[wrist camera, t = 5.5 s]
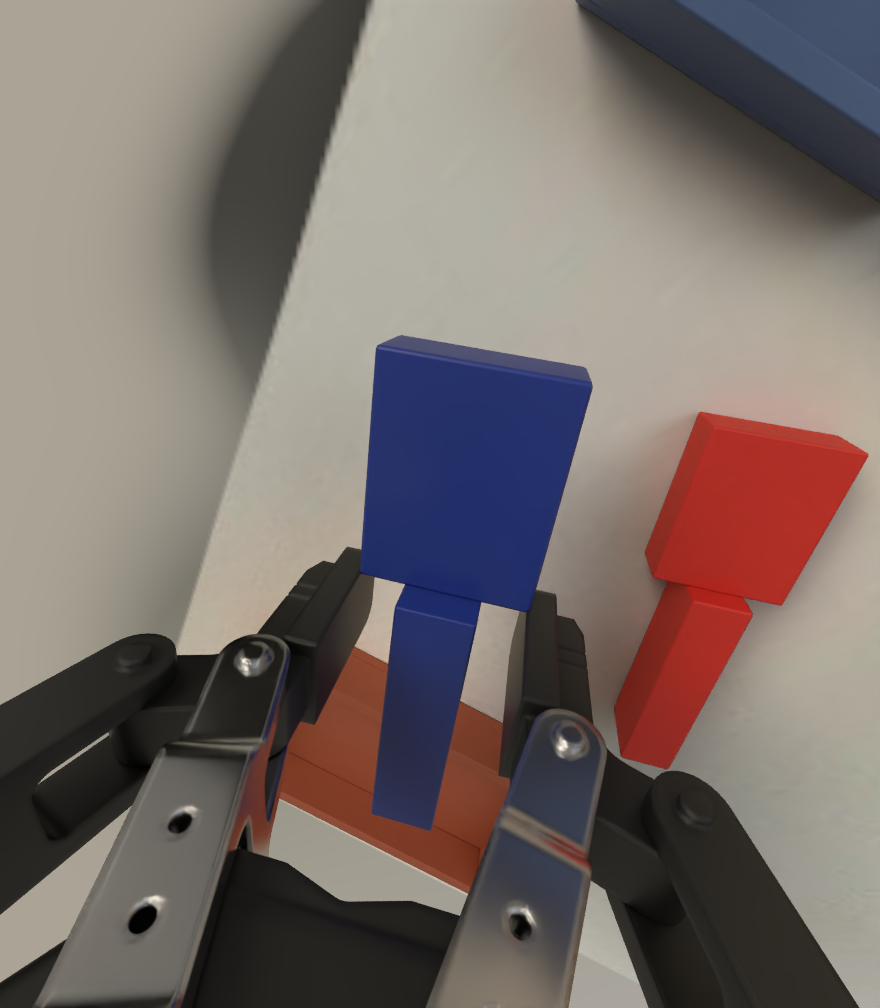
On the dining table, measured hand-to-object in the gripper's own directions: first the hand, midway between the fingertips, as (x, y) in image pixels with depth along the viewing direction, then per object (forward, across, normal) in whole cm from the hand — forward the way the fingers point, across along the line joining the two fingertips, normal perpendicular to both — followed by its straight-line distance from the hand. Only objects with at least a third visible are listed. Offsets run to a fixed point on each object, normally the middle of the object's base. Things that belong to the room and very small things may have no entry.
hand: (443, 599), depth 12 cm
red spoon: (+6, -8, +2) cm, 10 cm away
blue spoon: (+1, 0, 0) cm, 1 cm away
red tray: (+6, +2, +14) cm, 15 cm away
